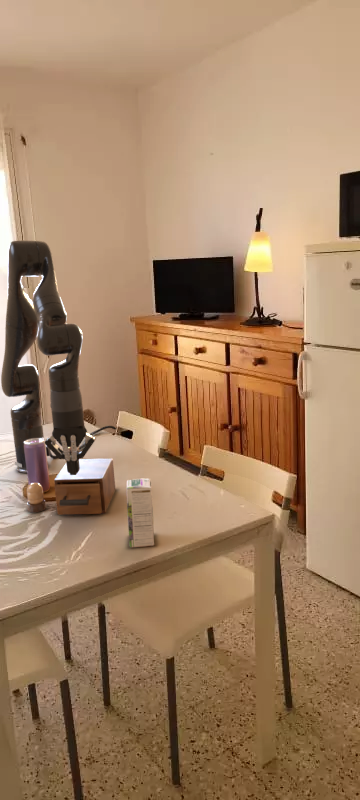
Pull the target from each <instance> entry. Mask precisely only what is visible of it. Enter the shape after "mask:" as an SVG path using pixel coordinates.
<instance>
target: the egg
mask: <svg viewBox="0 0 360 800" xmlns="http://www.w3.org/2000/svg"><path fill="white" fill-rule="evenodd" d="M26 497H27V502H26V507H27V511H28V512H29V513H40V512H43V511H45V510H46V509H47V503H46V499H44V497H45V496H44V493H43V488H42V486H41V485H40V484H39V483H36V482H34V483H31V484H30V485H28V486H27V487H26Z"/></svg>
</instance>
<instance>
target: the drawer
mask: <svg viewBox="0 0 360 800" xmlns="http://www.w3.org/2000/svg"><path fill="white" fill-rule="evenodd" d="M54 494H55V503H56V504H55V505H56V511H57V513H56V514H57V515H97V514H98V515H100V514H103V513H102V503H101V492H100V481H96V482H60V485H55V484H54Z"/></svg>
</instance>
